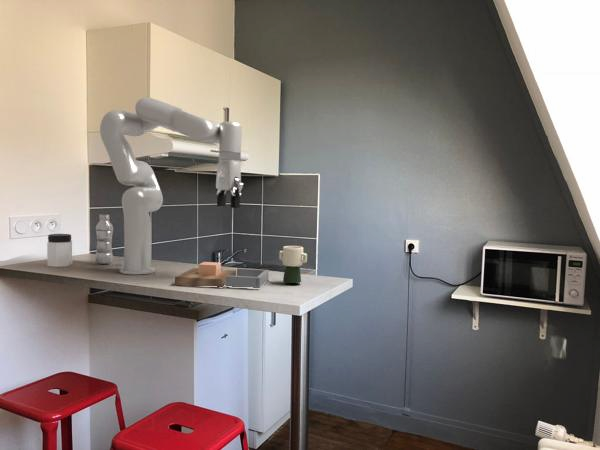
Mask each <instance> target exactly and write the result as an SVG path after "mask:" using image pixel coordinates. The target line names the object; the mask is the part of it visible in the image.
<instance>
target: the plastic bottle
mask: <svg viewBox="0 0 600 450" xmlns="http://www.w3.org/2000/svg"><path fill="white" fill-rule="evenodd" d="M98 219H99V221H98V223H97V224H96V226H95V233H96V241H97V242H96V252H95V263H96V264H98V265H99V264H100V265H108V264H112V262H113V259H114V255H113V247H112V242H113V241H112V240H113V233H114V227H113V224H112V223H111V221H110V214H107V213H106V214H104V213H103V214H100V213H99V218H98Z"/></svg>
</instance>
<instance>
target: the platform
mask: <svg viewBox="0 0 600 450" xmlns="http://www.w3.org/2000/svg"><path fill="white" fill-rule="evenodd" d="M227 275H229V276H237V269H236V270H233V269H221V273H219V274H218V275H216V276H214V275H199V267H198V268H197V267H192V268H190V269H188V270H186V271H184V272H182V273H180V274H178V275H176V276H175V277H174V286H175V285H183V286H182V287H187V286H217V287H223V286H224V285H226V276H227Z"/></svg>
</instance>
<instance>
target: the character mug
mask: <svg viewBox="0 0 600 450" xmlns="http://www.w3.org/2000/svg"><path fill="white" fill-rule="evenodd" d="M278 254H279V255H278V259H279V261H282V265H283V266H285V268H284V273H283V278H282V279H283V280H282V282H283V284H287V283H296V284H301V283H302V275H301V268H300V267H301V266H302V265H304V264H306V263H307V262H308V253H305V252H304V247H303V246H300V245H285V246H282V250H279V252H278ZM300 282H301V283H300Z"/></svg>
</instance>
